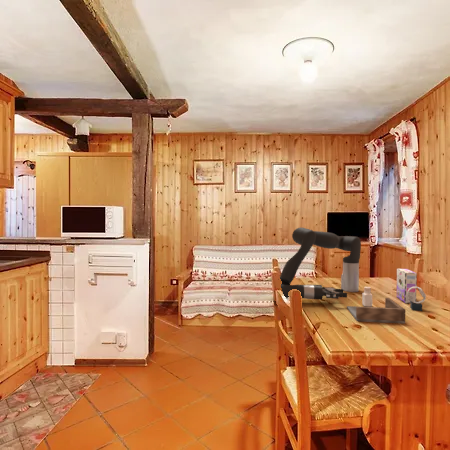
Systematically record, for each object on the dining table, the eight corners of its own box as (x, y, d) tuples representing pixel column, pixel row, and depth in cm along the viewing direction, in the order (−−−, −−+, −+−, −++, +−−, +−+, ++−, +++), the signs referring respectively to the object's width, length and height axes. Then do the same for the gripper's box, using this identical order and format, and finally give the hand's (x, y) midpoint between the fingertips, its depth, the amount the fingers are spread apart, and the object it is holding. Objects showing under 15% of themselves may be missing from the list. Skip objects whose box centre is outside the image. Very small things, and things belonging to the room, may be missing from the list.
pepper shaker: (361, 304, 165) (362, 286, 165) (369, 304, 165) (370, 286, 164) (364, 306, 161) (364, 288, 161) (372, 307, 161) (372, 288, 160)
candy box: (416, 304, 166) (417, 272, 165) (404, 303, 167) (405, 272, 167) (407, 297, 179) (407, 268, 179) (395, 296, 181) (396, 268, 180)
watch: (426, 311, 153) (427, 288, 153) (407, 309, 156) (408, 287, 156) (424, 308, 158) (425, 286, 158) (406, 306, 161) (406, 285, 161)
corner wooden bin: (356, 321, 139) (357, 307, 139) (346, 308, 159) (346, 296, 158) (405, 323, 136) (405, 309, 136) (388, 309, 156) (388, 297, 155)
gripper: (314, 287, 159) (348, 289, 157) (311, 281, 174) (342, 283, 171) (314, 302, 160) (348, 304, 157) (310, 295, 174) (342, 296, 171)
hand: (345, 293), depth 164 cm, fingers open, 8 cm apart
